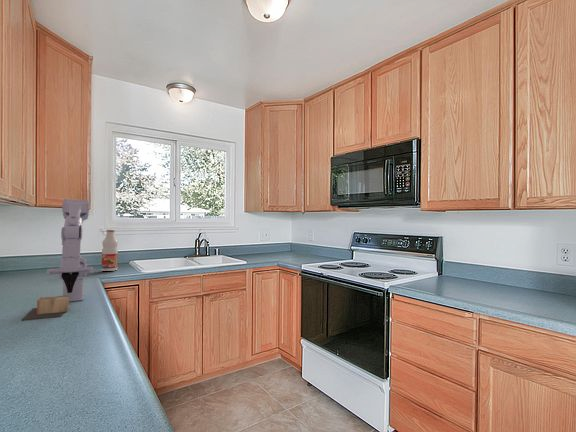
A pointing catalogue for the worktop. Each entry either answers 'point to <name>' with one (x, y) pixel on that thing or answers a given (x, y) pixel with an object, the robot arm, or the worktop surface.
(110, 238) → the fruit juice
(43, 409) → the worktop surface
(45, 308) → the maple block
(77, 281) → the robot arm
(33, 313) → the rubber mat
